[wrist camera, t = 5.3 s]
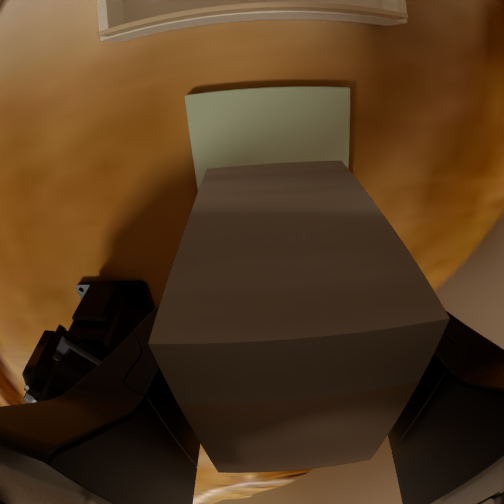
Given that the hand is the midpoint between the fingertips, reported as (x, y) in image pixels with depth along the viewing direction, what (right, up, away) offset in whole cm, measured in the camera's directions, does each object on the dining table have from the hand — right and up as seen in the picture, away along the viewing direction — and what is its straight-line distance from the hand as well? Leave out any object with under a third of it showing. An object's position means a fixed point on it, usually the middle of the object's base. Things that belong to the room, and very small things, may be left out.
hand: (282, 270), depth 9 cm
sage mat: (0, +6, +9) cm, 11 cm away
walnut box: (0, +1, +1) cm, 2 cm away
